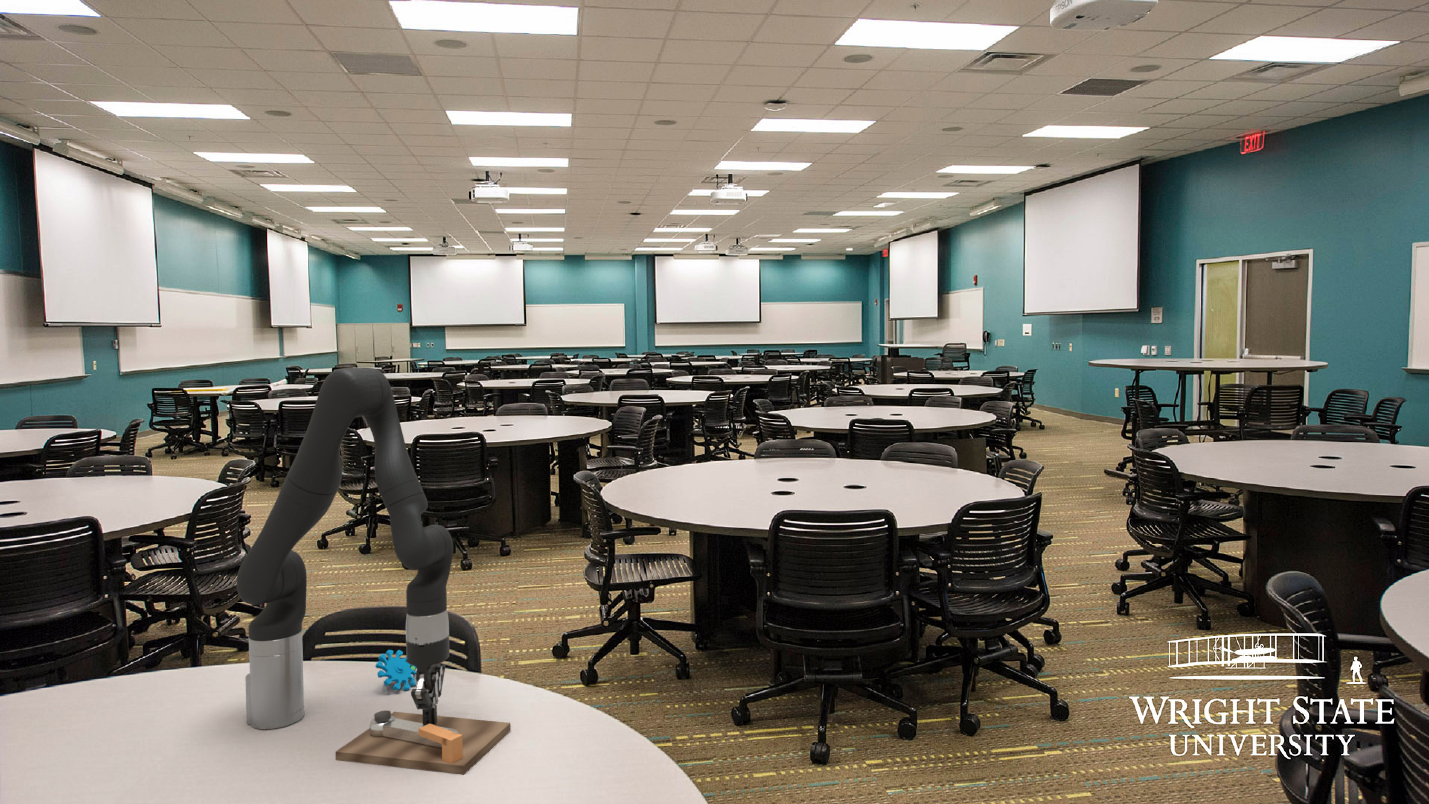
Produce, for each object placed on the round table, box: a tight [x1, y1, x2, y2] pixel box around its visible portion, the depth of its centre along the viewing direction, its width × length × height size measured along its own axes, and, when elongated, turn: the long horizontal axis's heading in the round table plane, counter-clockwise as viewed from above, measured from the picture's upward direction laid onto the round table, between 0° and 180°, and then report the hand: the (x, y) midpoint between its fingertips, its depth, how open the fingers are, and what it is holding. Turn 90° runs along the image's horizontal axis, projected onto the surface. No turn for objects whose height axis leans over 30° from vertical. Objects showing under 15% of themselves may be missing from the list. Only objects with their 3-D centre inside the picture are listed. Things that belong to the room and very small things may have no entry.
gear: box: [374, 649, 417, 692], centre depth 175 cm, size 11×6×10 cm
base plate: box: [335, 710, 512, 775], centre depth 146 cm, size 25×17×5 cm
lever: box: [369, 716, 458, 748], centre depth 146 cm, size 19×4×2 cm, turn 69°
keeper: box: [418, 724, 463, 764], centre depth 139 cm, size 9×2×4 cm, turn 57°
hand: (430, 726), depth 148 cm, fingers closed
